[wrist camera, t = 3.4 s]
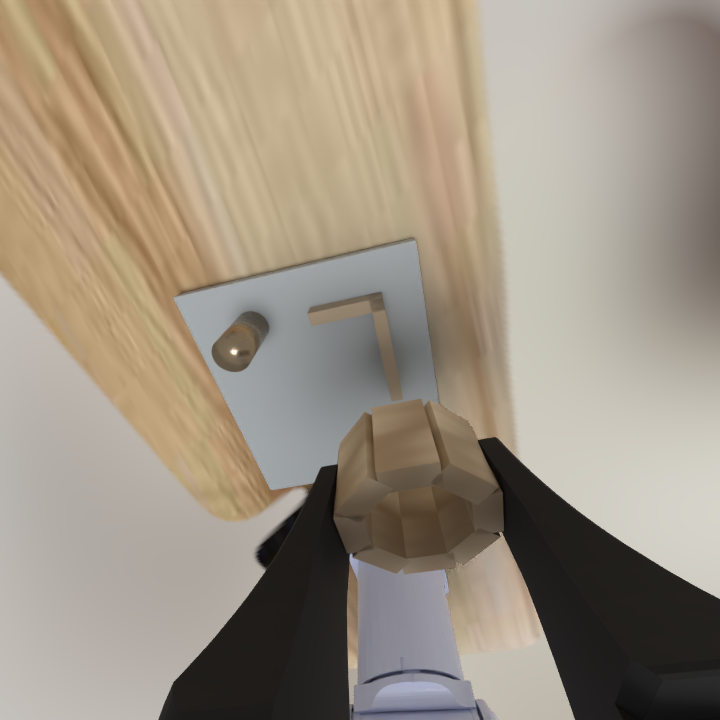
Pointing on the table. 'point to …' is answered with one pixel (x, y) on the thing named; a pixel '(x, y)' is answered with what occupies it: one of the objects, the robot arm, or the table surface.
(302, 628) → the robot arm
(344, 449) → the ring
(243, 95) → the table surface
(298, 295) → the board
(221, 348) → the end peg
